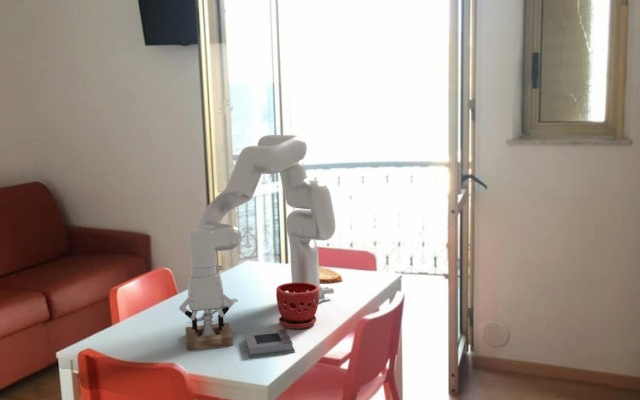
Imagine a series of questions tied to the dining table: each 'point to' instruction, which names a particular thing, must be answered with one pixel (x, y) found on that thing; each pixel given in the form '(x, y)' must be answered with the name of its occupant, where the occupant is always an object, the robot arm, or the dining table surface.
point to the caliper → (215, 309)
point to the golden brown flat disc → (329, 276)
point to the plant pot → (297, 304)
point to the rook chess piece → (208, 325)
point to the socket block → (209, 337)
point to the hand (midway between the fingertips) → (208, 329)
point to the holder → (267, 343)
